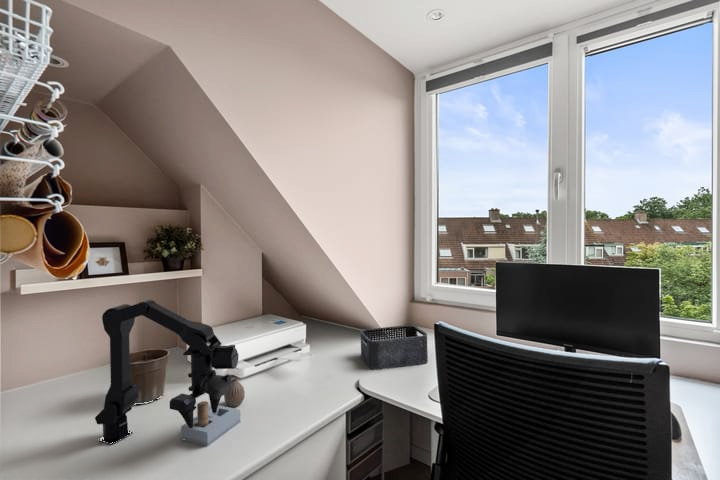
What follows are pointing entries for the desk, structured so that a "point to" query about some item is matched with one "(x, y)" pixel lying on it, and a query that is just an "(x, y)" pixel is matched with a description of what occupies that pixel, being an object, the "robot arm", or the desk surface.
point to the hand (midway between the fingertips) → (203, 419)
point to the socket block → (212, 426)
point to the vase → (234, 394)
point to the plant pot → (148, 373)
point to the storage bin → (393, 347)
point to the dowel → (202, 414)
